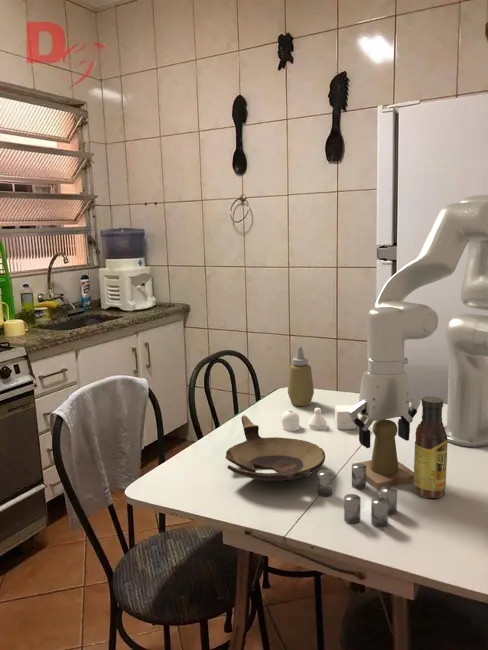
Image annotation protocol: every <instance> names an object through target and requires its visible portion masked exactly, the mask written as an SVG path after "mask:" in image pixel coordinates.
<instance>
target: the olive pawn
mask: <svg viewBox="0 0 488 650" xmlns="http://www.w3.org/2000/svg"><path fill="white" fill-rule="evenodd" d="M372 433H373V435H374V441H373V449H372V455H371V460H372V461H371V470H372V471H373V472H375V473H377V474H380V475H393V474H396V473H397V472H398V471H399V467H398V462H399V460H398V452H397V444H396V443H397V442H396V436H398V424H397V423H396V422H395V421H393V420H391V419H384V420H378V421H374V422H373V425H372Z"/></svg>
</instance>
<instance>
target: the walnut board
mask: <svg viewBox="0 0 488 650" xmlns="http://www.w3.org/2000/svg"><path fill="white" fill-rule="evenodd" d="M371 461H372V459H370V460H364V461H360V462H358V463H362V464H365V465H366V483H367V484H368V485H370V486H371V487H372V488H373V489H375V490H376V491H381V488H382V487H384V486H392V487H396V486H397V487H398V486H401V485H406V484H410V483H414V470H411V469H410V468H408V467H407V466H406V465H404V464H403V463H401V462H400V461H398V467H399V471H398V472H397V473H396V474H393V475H380V474H377V473H375V472H373V471H372V470H371ZM355 463H356V462H355ZM355 463H352V464H351V466H352V465H353V464H355Z"/></svg>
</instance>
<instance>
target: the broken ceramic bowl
mask: <svg viewBox="0 0 488 650" xmlns="http://www.w3.org/2000/svg"><path fill="white" fill-rule="evenodd" d="M241 424H242V427H243V432H244V436H245V440H244V441H243V442H240V443H237V444H235V445H233V446H231V447H230V448H228V449H227V450H226V453H225V454H226V455H225V460H227V461H229V462H230V463H232V464H233V465H236V466H237V467H239V468H237V467H234V466H232V465H227V469H228V470H230V471H231V472H233V473H235V474H237V475H241V476H242V477H245V478H249V479H253V480H255V481H256V480H257V481H263V482H277V481H279V482H280V481H291V480H295V479H298V478H300V477H303V478H304V477H309V476H310V475H311V473H313V472H315V471H317V470H318V469H319V468H321V467H322V466H323V465H324V463H325V461H326V453H325V451H324V449H323V448H322V447H320V446H319V445H317V443H316V444H315V443H314V442H313V443H312V442H309V441H307V440H303V439H298V438H290V437H276V436H275V437H261V436H260V435H259V430H260V428H259V425H257V424H254V423H253V422H252V421H251V420H250V418H249V417H248V416H247V415H245V414H244V415H243V414H242V416H241ZM256 468H258V469H261V470H260V472H256V471H257V470H256ZM242 469H243V470H242ZM262 469H270V470H274V471H276V472H268V473H267V472H262V471H263V470H262Z"/></svg>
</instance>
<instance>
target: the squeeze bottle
mask: <svg viewBox="0 0 488 650" xmlns="http://www.w3.org/2000/svg"><path fill="white" fill-rule="evenodd" d="M295 355H296V356H294V357H293V358H292V360H291V361H292V364H291V365H290V366H289V368H288V369H289V371H288V382H287V394H288V398H289V400H290V403H291V404H292V405H293V406H296V407H306V406H307V407H308V406H309V405H310V404H311V403H312V400H313V396H314V394H315V390H314V383H313V382H314V380H313V373H312V367H311V365H310V364H309V359H308V357H306V356H305V355H304V351H303V346H297V350H296V354H295Z"/></svg>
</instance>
